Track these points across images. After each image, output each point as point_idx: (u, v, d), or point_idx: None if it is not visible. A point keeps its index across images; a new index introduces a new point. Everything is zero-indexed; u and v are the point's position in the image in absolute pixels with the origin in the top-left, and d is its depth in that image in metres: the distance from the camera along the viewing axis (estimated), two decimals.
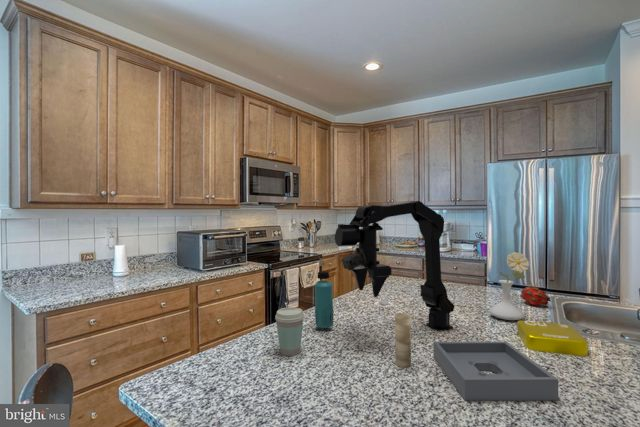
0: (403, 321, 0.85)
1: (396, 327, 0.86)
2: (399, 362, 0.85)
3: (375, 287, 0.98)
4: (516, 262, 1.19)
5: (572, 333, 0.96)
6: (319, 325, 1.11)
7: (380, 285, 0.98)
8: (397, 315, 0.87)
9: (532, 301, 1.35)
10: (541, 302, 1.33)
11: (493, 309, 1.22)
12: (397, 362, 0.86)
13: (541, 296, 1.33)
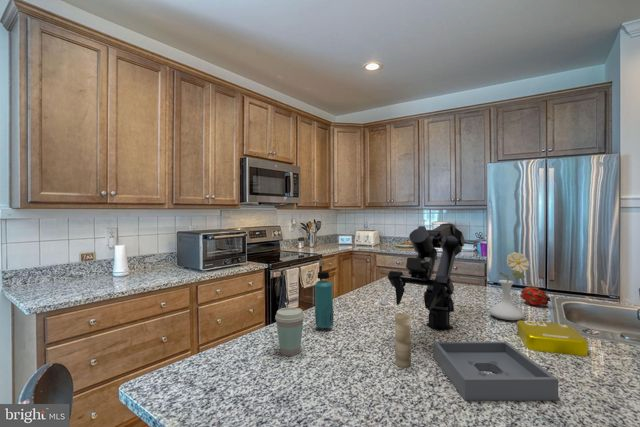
0: (403, 321, 0.85)
1: (396, 327, 0.86)
2: (399, 362, 0.85)
3: (434, 298, 0.91)
4: (516, 262, 1.19)
5: (571, 333, 0.96)
6: (319, 325, 1.11)
7: (436, 300, 0.93)
8: (397, 315, 0.87)
9: (532, 301, 1.35)
10: (541, 302, 1.33)
11: (493, 309, 1.22)
12: (397, 362, 0.86)
13: (541, 296, 1.33)
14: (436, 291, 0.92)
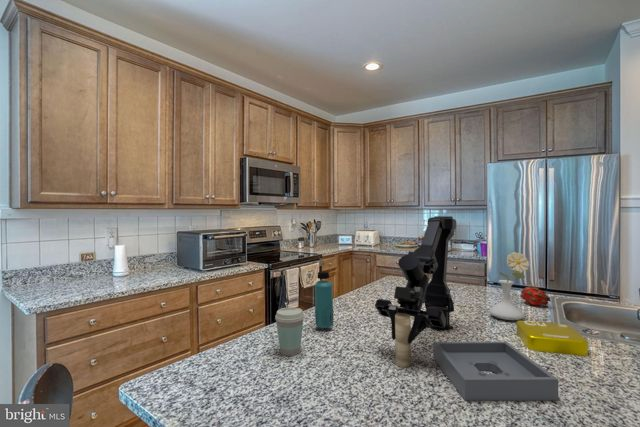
0: (403, 321, 0.85)
1: (396, 327, 0.86)
2: (399, 362, 0.85)
3: (415, 331, 0.85)
4: (516, 262, 1.19)
5: (571, 333, 0.96)
6: (319, 325, 1.11)
7: (417, 332, 0.86)
8: (397, 315, 0.87)
9: (532, 301, 1.35)
10: (541, 302, 1.33)
11: (493, 309, 1.22)
12: (397, 362, 0.86)
13: (541, 296, 1.33)
14: (417, 323, 0.86)
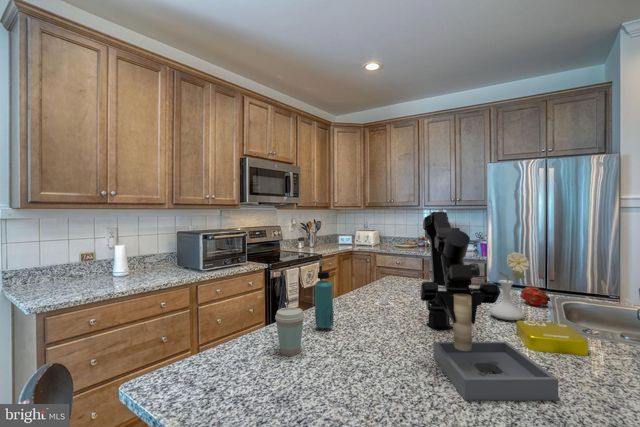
0: (468, 301, 0.78)
1: (459, 309, 0.79)
2: (464, 346, 0.79)
3: (476, 310, 0.80)
4: (516, 262, 1.19)
5: (571, 333, 0.96)
6: (319, 325, 1.11)
7: None
8: (458, 295, 0.80)
9: (532, 301, 1.35)
10: (541, 302, 1.33)
11: (493, 309, 1.22)
12: (461, 346, 0.79)
13: (541, 296, 1.33)
14: (477, 301, 0.81)
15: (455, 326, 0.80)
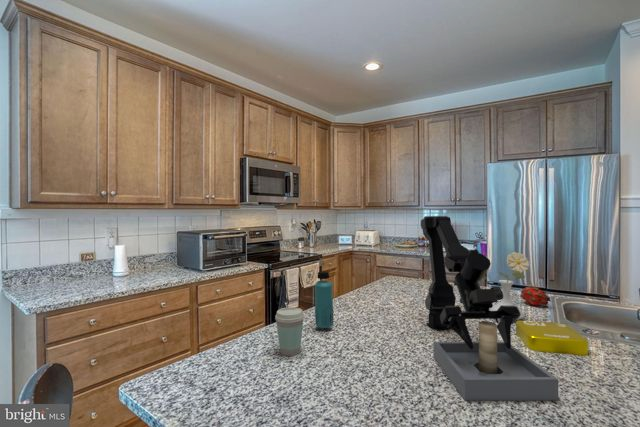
0: (495, 330, 0.78)
1: (486, 338, 0.78)
2: None
3: None
4: (516, 262, 1.19)
5: (571, 332, 0.96)
6: (319, 325, 1.11)
7: None
8: (484, 324, 0.79)
9: (532, 301, 1.35)
10: (541, 302, 1.33)
11: (493, 309, 1.22)
12: None
13: (541, 296, 1.33)
14: (509, 324, 0.81)
15: (481, 355, 0.79)
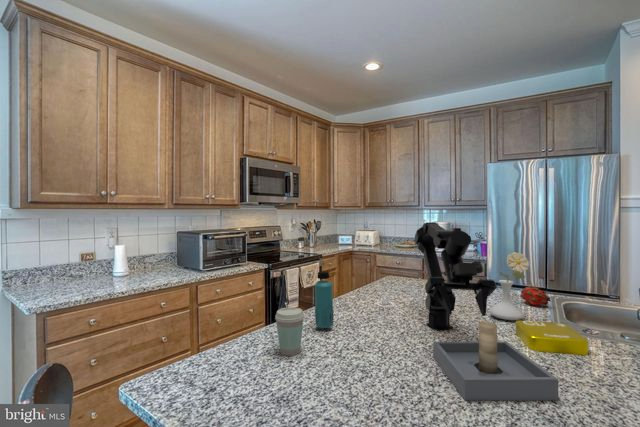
0: (495, 330, 0.78)
1: (486, 338, 0.78)
2: None
3: None
4: (516, 262, 1.19)
5: (571, 332, 0.96)
6: (319, 325, 1.11)
7: None
8: (484, 324, 0.79)
9: (532, 301, 1.35)
10: (541, 302, 1.33)
11: (493, 309, 1.22)
12: None
13: (541, 296, 1.33)
14: (486, 295, 0.91)
15: (481, 355, 0.79)
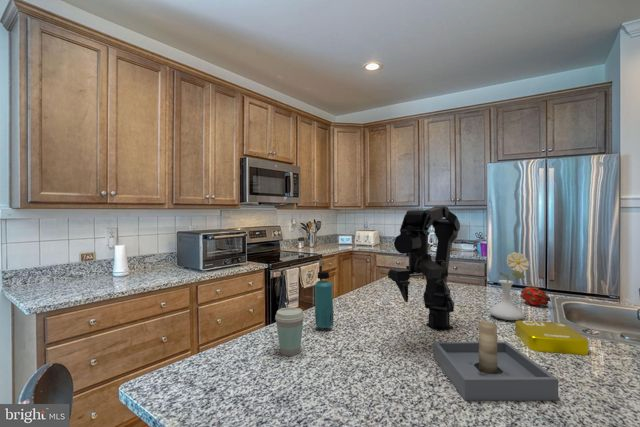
0: (495, 330, 0.78)
1: (486, 338, 0.78)
2: None
3: None
4: (516, 262, 1.19)
5: (571, 332, 0.97)
6: (319, 325, 1.11)
7: None
8: (484, 324, 0.79)
9: (532, 301, 1.35)
10: (541, 302, 1.33)
11: (493, 309, 1.22)
12: None
13: (541, 296, 1.33)
14: (437, 283, 1.01)
15: (481, 355, 0.79)
